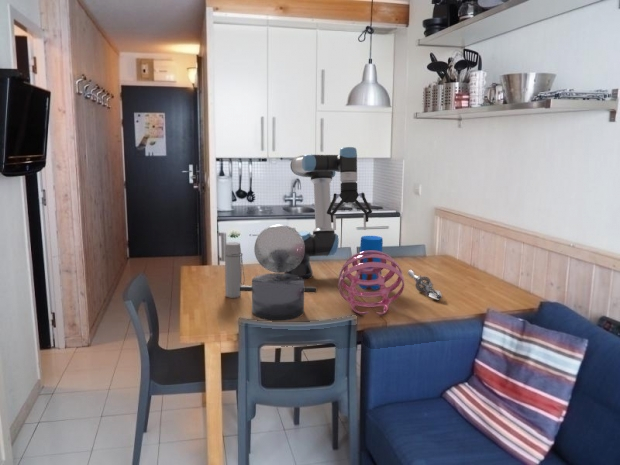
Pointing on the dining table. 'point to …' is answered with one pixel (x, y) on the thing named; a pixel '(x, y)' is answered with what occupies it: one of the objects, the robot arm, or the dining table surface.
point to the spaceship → (425, 286)
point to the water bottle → (233, 269)
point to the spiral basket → (379, 281)
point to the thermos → (367, 245)
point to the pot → (277, 296)
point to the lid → (279, 248)
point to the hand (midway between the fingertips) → (349, 229)
